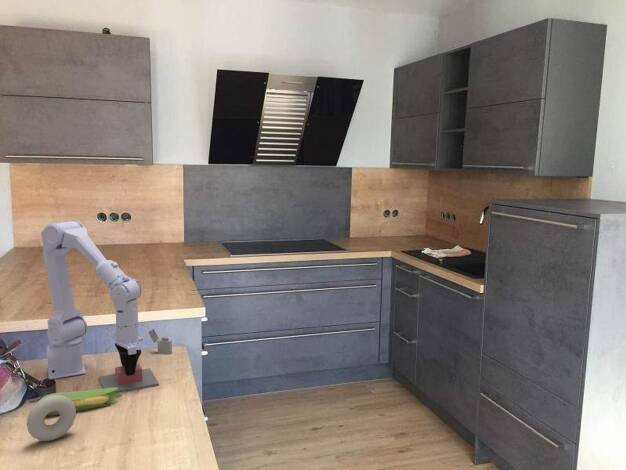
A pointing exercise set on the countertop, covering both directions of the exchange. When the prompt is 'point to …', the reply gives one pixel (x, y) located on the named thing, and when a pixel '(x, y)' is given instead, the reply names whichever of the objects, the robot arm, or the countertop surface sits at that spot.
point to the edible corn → (88, 398)
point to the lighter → (161, 343)
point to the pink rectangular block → (124, 379)
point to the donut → (43, 408)
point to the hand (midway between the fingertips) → (128, 371)
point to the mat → (111, 382)
